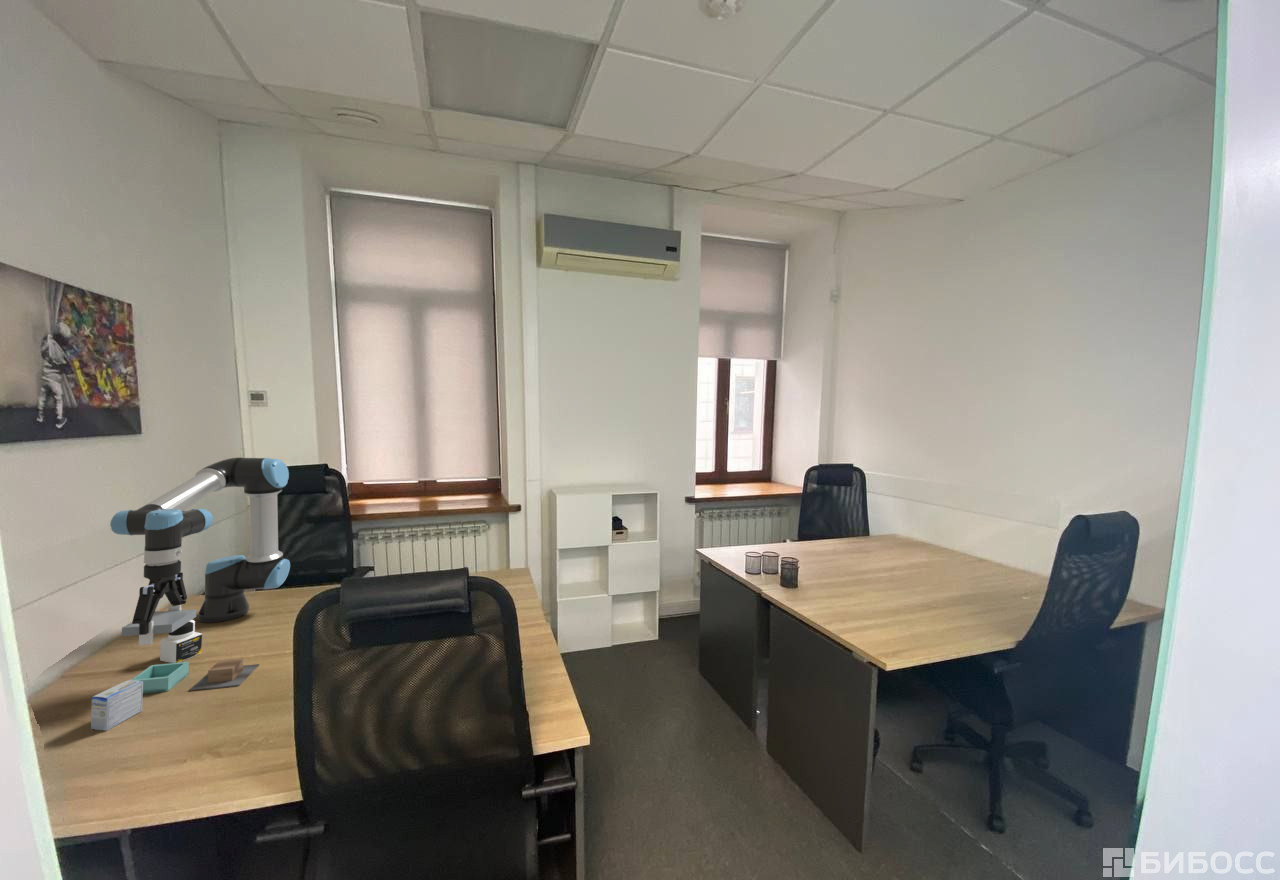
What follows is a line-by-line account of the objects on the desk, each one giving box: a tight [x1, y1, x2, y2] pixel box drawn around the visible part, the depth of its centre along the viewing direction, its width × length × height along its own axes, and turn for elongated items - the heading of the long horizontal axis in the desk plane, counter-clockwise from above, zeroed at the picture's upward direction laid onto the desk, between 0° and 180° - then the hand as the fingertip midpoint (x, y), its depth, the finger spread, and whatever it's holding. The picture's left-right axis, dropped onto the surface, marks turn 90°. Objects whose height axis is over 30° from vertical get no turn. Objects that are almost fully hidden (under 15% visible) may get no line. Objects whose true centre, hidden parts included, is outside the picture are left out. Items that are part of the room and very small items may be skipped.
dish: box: [130, 661, 190, 694], centre depth 131 cm, size 9×9×4 cm
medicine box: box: [90, 679, 143, 732], centre depth 116 cm, size 8×4×9 cm, turn 178°
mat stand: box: [188, 658, 260, 692], centre depth 136 cm, size 12×12×4 cm
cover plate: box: [121, 608, 197, 637], centre depth 131 cm, size 11×11×2 cm
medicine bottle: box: [159, 619, 203, 664], centre depth 146 cm, size 7×7×12 cm
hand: (160, 635), depth 131 cm, fingers closed on cover plate, 11 cm apart
